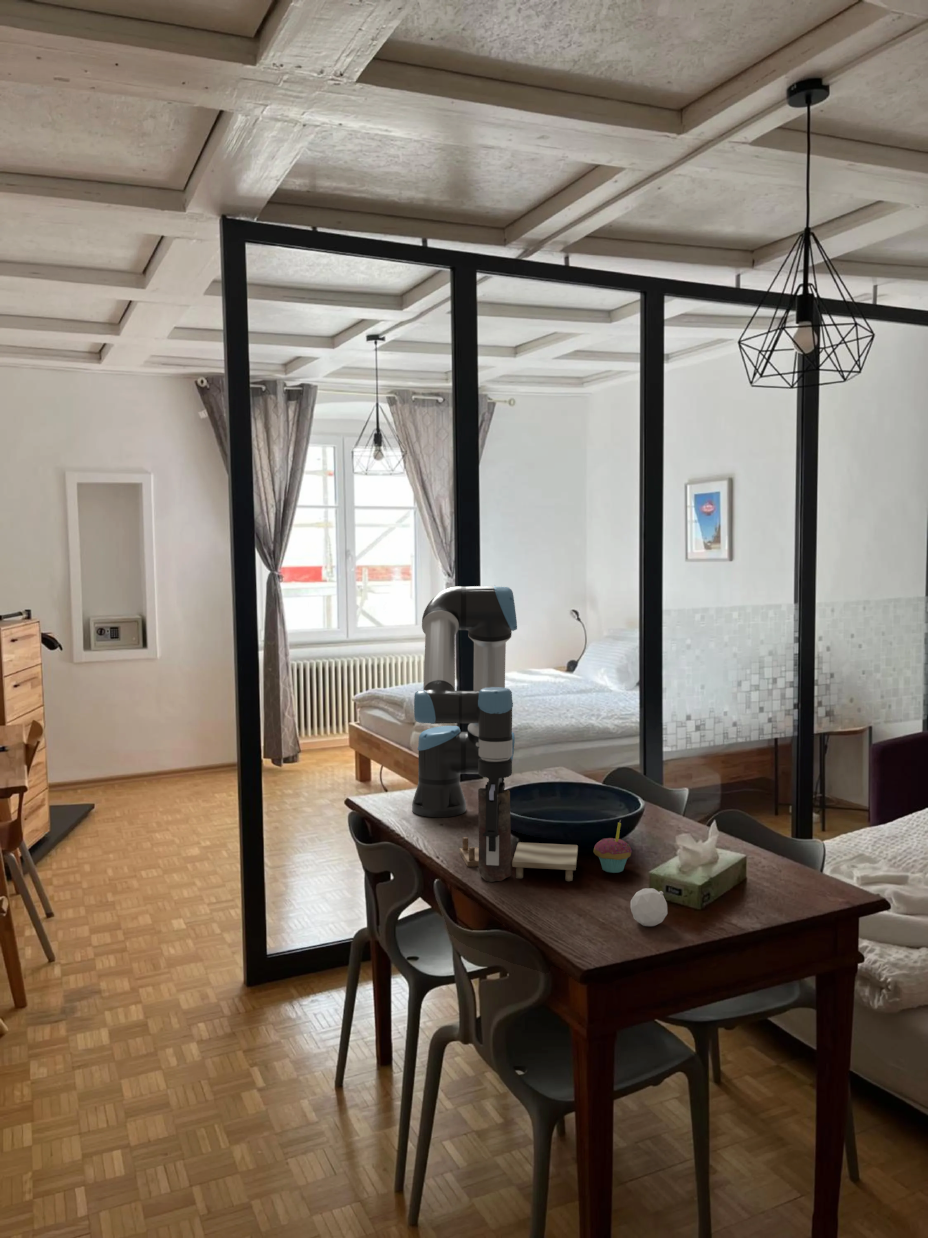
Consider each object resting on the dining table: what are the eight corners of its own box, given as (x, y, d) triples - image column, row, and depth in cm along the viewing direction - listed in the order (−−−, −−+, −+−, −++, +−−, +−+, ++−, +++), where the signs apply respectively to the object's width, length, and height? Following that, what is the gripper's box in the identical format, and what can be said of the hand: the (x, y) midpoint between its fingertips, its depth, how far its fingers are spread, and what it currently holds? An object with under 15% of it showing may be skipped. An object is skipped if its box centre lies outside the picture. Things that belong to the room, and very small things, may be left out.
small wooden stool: (518, 858, 224) (518, 842, 223) (577, 862, 222) (577, 845, 221) (512, 879, 210) (512, 861, 210) (575, 882, 208) (575, 865, 207)
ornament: (645, 913, 190) (670, 886, 188) (656, 940, 183) (682, 912, 181) (618, 900, 188) (643, 872, 185) (628, 927, 181) (654, 898, 179)
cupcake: (638, 869, 217) (639, 818, 216) (617, 878, 210) (618, 825, 209) (607, 860, 222) (607, 810, 222) (585, 869, 216) (586, 818, 215)
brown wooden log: (472, 873, 214) (473, 786, 212) (502, 869, 216) (502, 783, 215) (487, 884, 207) (487, 794, 205) (517, 880, 209) (517, 791, 208)
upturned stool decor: (459, 853, 228) (459, 837, 228) (499, 850, 230) (499, 834, 230) (467, 866, 218) (467, 849, 218) (509, 864, 220) (509, 847, 220)
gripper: (484, 747, 220) (484, 844, 222) (471, 767, 200) (471, 873, 202) (516, 748, 219) (516, 845, 221) (507, 768, 199) (506, 875, 201)
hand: (494, 858), depth 211 cm, fingers closed on brown wooden log, 7 cm apart
